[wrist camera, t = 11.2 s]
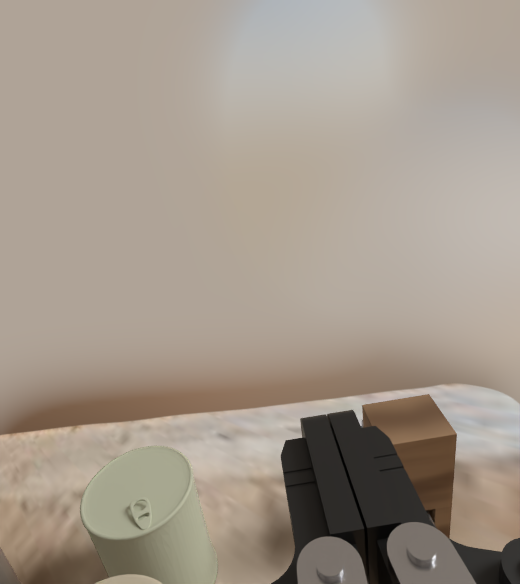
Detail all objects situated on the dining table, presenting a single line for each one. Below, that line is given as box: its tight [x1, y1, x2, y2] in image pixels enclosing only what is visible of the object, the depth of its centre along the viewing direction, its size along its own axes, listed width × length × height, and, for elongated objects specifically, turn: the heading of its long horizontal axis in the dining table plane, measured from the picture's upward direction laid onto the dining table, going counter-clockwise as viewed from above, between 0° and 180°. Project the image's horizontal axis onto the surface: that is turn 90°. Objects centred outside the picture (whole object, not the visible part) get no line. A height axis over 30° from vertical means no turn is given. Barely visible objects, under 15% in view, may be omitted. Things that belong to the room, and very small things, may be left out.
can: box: [80, 446, 218, 584], centre depth 38 cm, size 9×9×12 cm
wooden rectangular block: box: [362, 394, 457, 538], centre depth 39 cm, size 5×6×12 cm
